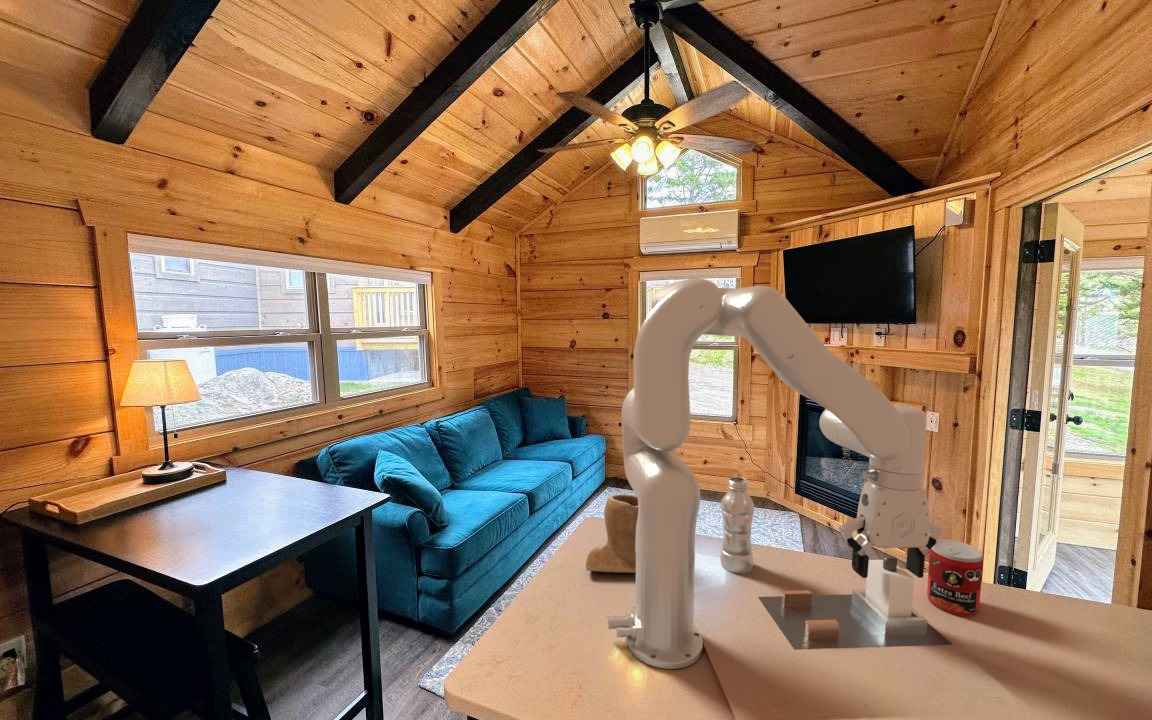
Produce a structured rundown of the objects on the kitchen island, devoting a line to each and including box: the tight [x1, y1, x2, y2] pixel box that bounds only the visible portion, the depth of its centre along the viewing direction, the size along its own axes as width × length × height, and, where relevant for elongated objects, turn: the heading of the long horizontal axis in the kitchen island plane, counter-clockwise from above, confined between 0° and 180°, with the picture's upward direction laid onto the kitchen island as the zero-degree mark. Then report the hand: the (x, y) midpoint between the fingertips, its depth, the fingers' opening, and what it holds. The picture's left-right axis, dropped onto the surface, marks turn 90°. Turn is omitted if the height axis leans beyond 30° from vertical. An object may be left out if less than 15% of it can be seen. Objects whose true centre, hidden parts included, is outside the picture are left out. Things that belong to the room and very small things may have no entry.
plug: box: [865, 554, 914, 618], centre depth 82 cm, size 4×6×11 cm, turn 2°
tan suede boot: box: [585, 494, 639, 574], centre depth 103 cm, size 15×12×15 cm
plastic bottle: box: [719, 476, 755, 575], centre depth 99 cm, size 6×7×20 cm
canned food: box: [926, 538, 984, 617], centre depth 88 cm, size 8×8×11 cm
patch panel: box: [757, 588, 954, 650], centre depth 83 cm, size 26×14×4 cm, turn 92°
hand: (887, 573), depth 82 cm, fingers open, 9 cm apart
